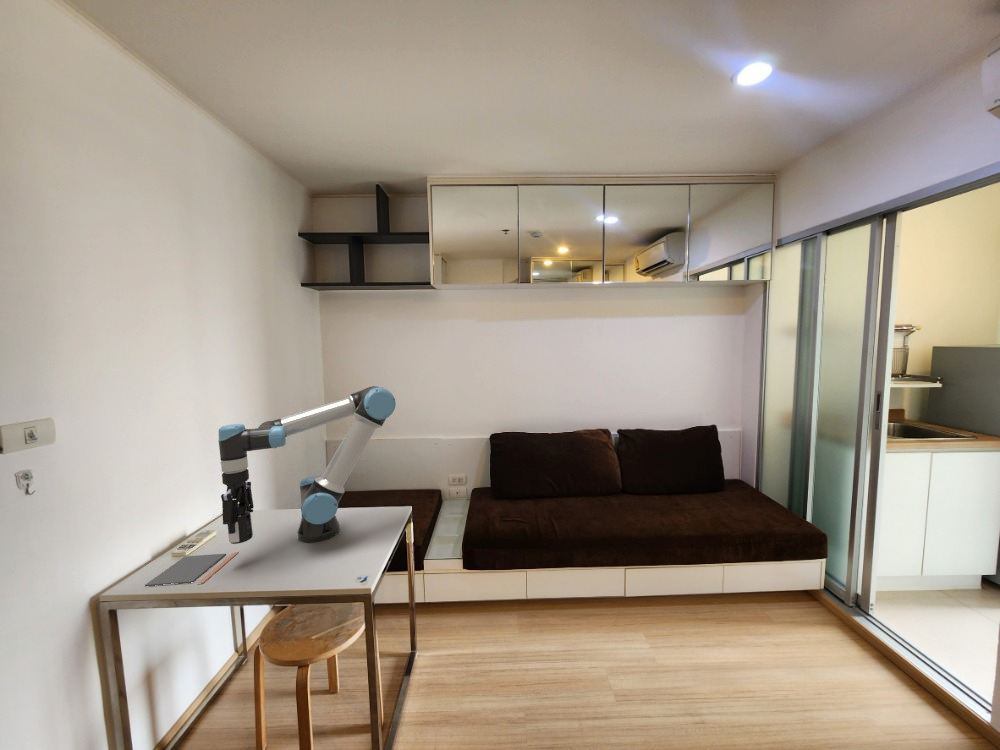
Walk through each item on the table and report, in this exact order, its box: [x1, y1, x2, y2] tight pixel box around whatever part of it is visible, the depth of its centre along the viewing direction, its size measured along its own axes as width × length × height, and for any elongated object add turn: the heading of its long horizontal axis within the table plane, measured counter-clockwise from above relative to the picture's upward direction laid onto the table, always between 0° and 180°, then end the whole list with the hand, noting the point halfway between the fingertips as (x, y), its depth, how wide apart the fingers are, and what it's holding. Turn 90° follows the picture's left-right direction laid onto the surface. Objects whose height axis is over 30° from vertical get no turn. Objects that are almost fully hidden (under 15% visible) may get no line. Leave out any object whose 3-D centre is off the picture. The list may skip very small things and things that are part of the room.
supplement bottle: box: [226, 502, 254, 545], centre depth 136 cm, size 7×7×12 cm
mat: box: [144, 553, 227, 587], centre depth 135 cm, size 14×18×1 cm
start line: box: [197, 551, 239, 584], centre depth 136 cm, size 2×20×1 cm, turn 5°
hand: (240, 536), depth 136 cm, fingers closed on supplement bottle, 7 cm apart
